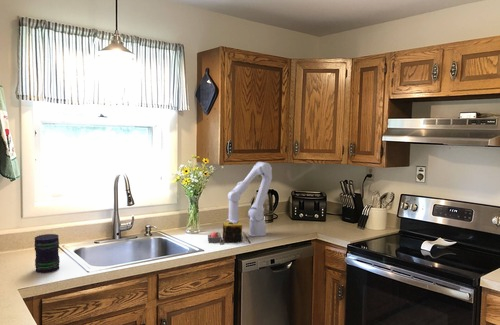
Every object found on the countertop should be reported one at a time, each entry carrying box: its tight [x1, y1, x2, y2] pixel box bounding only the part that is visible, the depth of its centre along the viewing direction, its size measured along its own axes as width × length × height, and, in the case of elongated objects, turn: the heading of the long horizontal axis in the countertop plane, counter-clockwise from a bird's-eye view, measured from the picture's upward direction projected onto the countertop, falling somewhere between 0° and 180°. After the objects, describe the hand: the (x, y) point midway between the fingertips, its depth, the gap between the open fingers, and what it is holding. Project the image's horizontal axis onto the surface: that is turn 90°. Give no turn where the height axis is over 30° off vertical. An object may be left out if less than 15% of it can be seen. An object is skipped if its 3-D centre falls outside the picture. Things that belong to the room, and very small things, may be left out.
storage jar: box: [34, 233, 60, 274], centre depth 186 cm, size 10×10×15 cm
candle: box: [222, 220, 243, 244], centre depth 237 cm, size 10×10×10 cm
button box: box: [207, 234, 222, 244], centre depth 236 cm, size 7×7×3 cm
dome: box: [210, 231, 218, 237], centre depth 236 cm, size 4×4×5 cm
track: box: [215, 231, 252, 246], centre depth 243 cm, size 17×25×1 cm
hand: (233, 234), depth 245 cm, fingers closed
